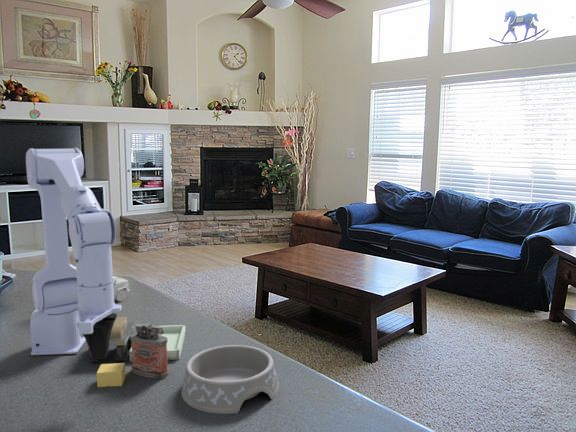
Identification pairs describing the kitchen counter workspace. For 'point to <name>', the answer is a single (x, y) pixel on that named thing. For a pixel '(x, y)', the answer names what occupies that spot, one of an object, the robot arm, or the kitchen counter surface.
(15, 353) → the kitchen counter surface
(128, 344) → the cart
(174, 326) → the tray
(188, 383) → the dog bowl
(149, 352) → the lighter
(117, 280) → the toy car
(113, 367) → the block
